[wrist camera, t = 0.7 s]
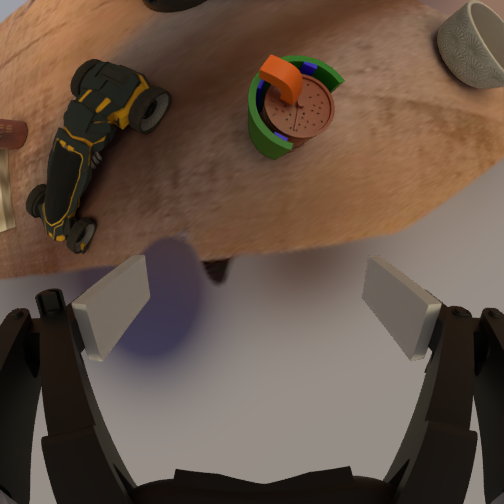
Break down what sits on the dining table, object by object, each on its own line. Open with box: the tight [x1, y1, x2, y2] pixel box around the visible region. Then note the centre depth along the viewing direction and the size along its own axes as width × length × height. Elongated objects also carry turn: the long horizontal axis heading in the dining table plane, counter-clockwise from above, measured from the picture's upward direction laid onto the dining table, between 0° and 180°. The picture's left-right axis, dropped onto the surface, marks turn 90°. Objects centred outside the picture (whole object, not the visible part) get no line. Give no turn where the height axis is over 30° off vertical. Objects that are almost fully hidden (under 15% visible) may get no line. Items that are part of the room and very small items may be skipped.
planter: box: [437, 0, 504, 89], centre depth 24 cm, size 17×17×15 cm
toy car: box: [26, 59, 171, 254], centre depth 34 cm, size 16×32×10 cm, turn 146°
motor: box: [248, 55, 344, 160], centre depth 28 cm, size 10×9×20 cm
